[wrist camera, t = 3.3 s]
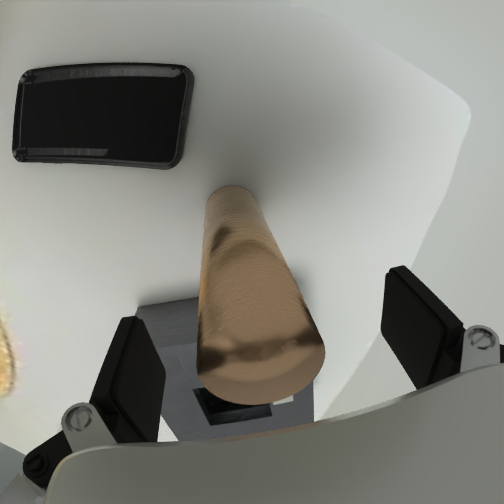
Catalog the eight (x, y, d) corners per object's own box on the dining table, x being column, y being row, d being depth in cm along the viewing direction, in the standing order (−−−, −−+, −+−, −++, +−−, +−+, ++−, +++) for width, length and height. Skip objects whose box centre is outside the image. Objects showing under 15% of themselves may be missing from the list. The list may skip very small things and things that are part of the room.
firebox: (137, 307, 26) (123, 353, 20) (291, 279, 26) (311, 321, 21) (187, 410, 33) (186, 452, 27) (301, 391, 33) (314, 432, 28)
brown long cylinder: (200, 191, 22) (179, 329, 8) (253, 181, 23) (324, 301, 8) (212, 245, 24) (217, 419, 10) (261, 235, 24) (324, 398, 10)
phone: (20, 71, 15) (196, 66, 18) (27, 72, 16) (197, 68, 19) (11, 163, 18) (179, 172, 21) (18, 161, 19) (180, 170, 22)
